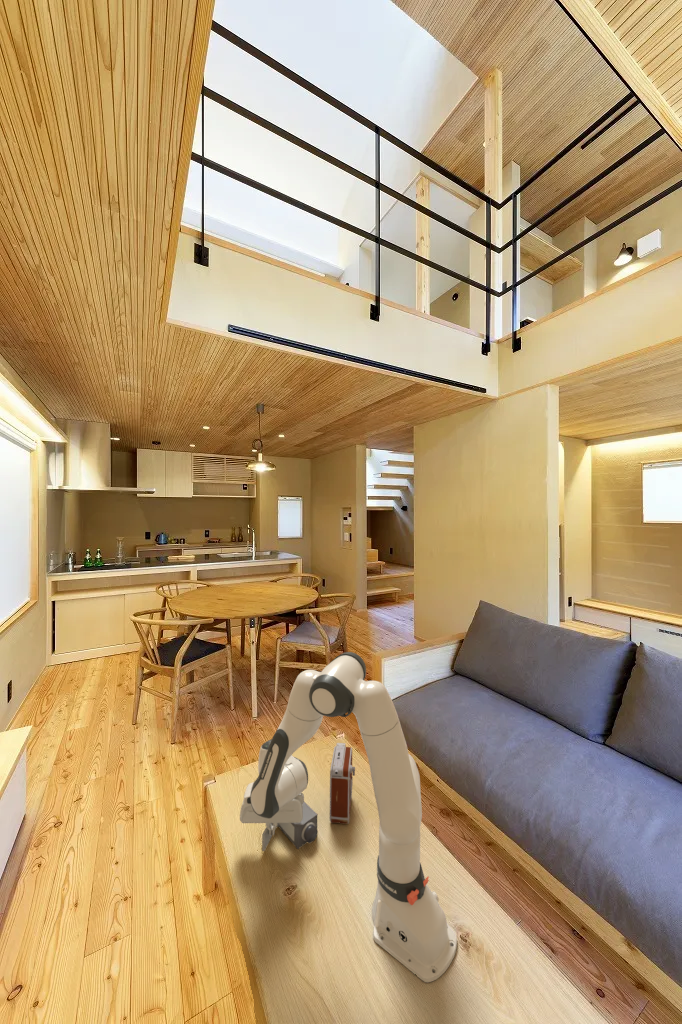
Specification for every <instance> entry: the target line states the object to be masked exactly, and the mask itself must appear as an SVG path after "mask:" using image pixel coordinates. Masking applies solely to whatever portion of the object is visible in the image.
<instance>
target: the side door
mask: <svg viewBox="0 0 682 1024" xmlns="http://www.w3.org/2000/svg"><path fill="white" fill-rule="evenodd" d="M271 825H272V826H273V823H271ZM276 828H279V827H278V825H277V827H276ZM272 837H273V835H269V830H268V828H267V827H266V826H265V829H264V831H263V832H262V833H261V848H262V849H261V851H263V852H265V851H266V849H267V847H268V845H269V843H270V841H271V839H272Z"/></svg>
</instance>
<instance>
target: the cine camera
mask: <svg viewBox="0 0 682 1024" xmlns="http://www.w3.org/2000/svg"><path fill="white" fill-rule="evenodd" d="M355 773H356V767H355V766H353V747H350V746H346V742H345V743H344V742H336V745H335V746H334V748H333V753H332V760H331V764H330V771H329V822H330V823H333V824H345V825H349V824H350V819H351V810H352V809H351V807H352V798H353V779H354V778H353V776H356V774H355Z"/></svg>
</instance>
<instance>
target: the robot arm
mask: <svg viewBox="0 0 682 1024" xmlns="http://www.w3.org/2000/svg"><path fill="white" fill-rule="evenodd" d="M366 666H367V664H366V663H365V661H364V658H362V657H361V656H360V655H359V654H357V653H355V652H352V651H346V652H343V653H340V654H339V655H338V656H336V657H335V658H334V659H333V660H332V661H330V662H329V663H328V664H327V665H326V666H325V667H324V668H323V669H322V671H317V670H315V669H306V670H304V671H301V672H300V673H299V674H298V675H297V676H296V678H295V681H294V683H293V686H292V689H291V691H290V693H289V696H288V697H289V698H288V701H287V705H286V710H285V712H284V714H283V716H282V720H281V721H280V724H279V725H278V726H277V727H278V728H277V729H276V731H275V732H274V734H273V736H272V738H271V739H269V740H267V741H265V742H264V743H263V744H261V745H260V749H259V752H258V753H259V754H258V760H257V761H258V765H257V767H258V768H257V769H258V770H257V771H258V777H257V778H256V779H255V780H254V781H253V782H250V783H248V784H247V785H246V789H245V792H244V794H243V801H242V803H241V807H240V813H239V821H240V822H241V823H242V824H265V828H266V827H267V828H268V830H269V835H272V836H274V835H275V834H276V833H275V831H276V829H277V828H278V827H277V825H278V823H300V822H301V821H302V819H303V803H304V802H305V795H304V793H303V792H304V791H305V790H306V789H307V788H308V783H309V772H308V767H307V765H306V763H305V762H304V761H303V760H302V759H300V758H298V757H295V756H293V754H294V753H295V752H296V751H297V750H298V749H299V748H301V747H302V746H303V745H304V744H306V743H307V742H308V741H309V740H310V739H311V738H313V737H314V736H315V734H317V731H318V730H319V728H320V726H321V724H322V721H323V718H324V717H329V718H337V717H342V718H346V717H348V716H350V715H351V714H352V713H353V714H354V716H355V720H356V722H357V725H358V729H359V732H360V735H361V739H362V742H363V746H364V749H365V753H366V756H367V759H368V764H369V770H370V771H369V772H370V777H371V782H372V787H373V793H374V797H375V803H376V806H377V812H378V819H379V826H378V829H379V830H378V831H379V832H378V855H377V856H378V857H377V861H376V862H377V863H376V877H377V883H376V884H377V885H376V893H375V897H374V900H373V903H372V907H371V915H372V921H373V926H374V927H373V932H372V939H373V941H374V942H375V943H376V944H377V945H378V946H380V947H381V948H382V949H383V950H384V951H386V952H387V953H389V954H390V955H391V956H392V957H393V958H394V959H396V960H397V961H398V962H399V963H400V964H402V965H403V966H404V967H406V968H407V969H408V970H409V971H410V972H412V974H414V975H415V974H416V975H417V977H418V978H419V979H420V980H421V981H423V982H424V983H431V982H434V981H436V980H438V979H439V978H441V977H442V976H443V974H444V973H445V972H446V971H447V970H448V968H449V967H450V965H451V963H452V962H453V960H454V957H455V956H456V953H457V946H458V939H457V934H456V932H455V931H454V930H453V928H452V927H451V926H450V924H449V923H448V921H447V917H446V913H445V911H444V909H443V908H442V906H441V905H440V903H439V900H440V899H439V896H438V894H437V892H436V891H432V889H430V887H429V885H428V882H429V881H430V880H429V879H430V877H429V875H428V876H427V877H426V878H425V873H424V870H423V867H422V863H421V825H422V819H423V809H422V795H421V793H422V791H421V777H420V772H419V769H418V766H417V763H416V761H415V759H414V758H413V756H412V755H411V754H410V753H409V750H408V749H409V748H408V745H407V741H406V738H405V735H404V732H403V729H402V725H401V722H400V718H399V715H398V712H397V710H396V707H395V704H394V702H393V700H392V697H391V695H390V693H389V691H388V690H387V688H386V686H385V685H384V684H383V683H382V682H381V681H379V680H367V681H366V680H365V679H366V675H367V667H366ZM271 823H273V826H272V825H271ZM416 975H415V976H416Z"/></svg>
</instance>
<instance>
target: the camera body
mask: <svg viewBox="0 0 682 1024" xmlns="http://www.w3.org/2000/svg"><path fill="white" fill-rule="evenodd" d="M277 828H279V829H280V831H281V832H282V833H283V834H284V835H285V836H286V837H287V838H288V839H289V841H290V842H291V843H292V845H294V846H295V848H296V849H297V850H299V849H300V848H302V847H303V846H304V845H306V844H307V843H308V844H311V843H313V842H314V841H315V840H316V838H317V836H318V833H319V831H318V813H317V812H316V811H315V810H314V809H313V808H311V807H310V806H309V805H308V804H307V803H306V802H305V801H304V803H303V819H302V821H301V822H300V823H278V827H277Z"/></svg>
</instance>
